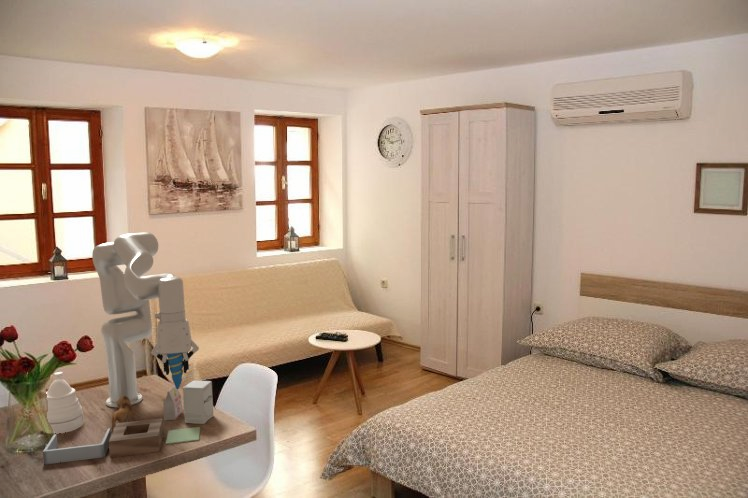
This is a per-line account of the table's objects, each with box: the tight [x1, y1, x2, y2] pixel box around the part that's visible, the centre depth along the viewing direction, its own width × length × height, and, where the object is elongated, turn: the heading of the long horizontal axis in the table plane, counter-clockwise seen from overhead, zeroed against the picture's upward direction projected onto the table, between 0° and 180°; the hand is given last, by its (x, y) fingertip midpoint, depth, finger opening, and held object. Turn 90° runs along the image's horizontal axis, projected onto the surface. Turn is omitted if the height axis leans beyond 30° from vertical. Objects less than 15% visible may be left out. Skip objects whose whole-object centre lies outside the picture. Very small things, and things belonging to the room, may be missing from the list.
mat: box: [165, 426, 201, 445], centre depth 201 cm, size 10×10×1 cm
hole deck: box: [108, 417, 165, 458], centre depth 195 cm, size 14×14×5 cm
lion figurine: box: [110, 396, 132, 435], centre depth 209 cm, size 15×5×9 cm, turn 12°
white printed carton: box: [163, 384, 183, 421], centre depth 217 cm, size 4×7×10 cm, turn 177°
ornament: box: [167, 353, 184, 390], centre depth 198 cm, size 5×5×15 cm
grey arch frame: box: [42, 427, 112, 465], centre depth 192 cm, size 12×17×4 cm
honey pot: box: [45, 371, 85, 435], centre depth 211 cm, size 13×13×18 cm
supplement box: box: [182, 380, 214, 425], centre depth 213 cm, size 7×7×13 cm
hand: (176, 372), depth 198 cm, fingers closed on ornament, 4 cm apart
